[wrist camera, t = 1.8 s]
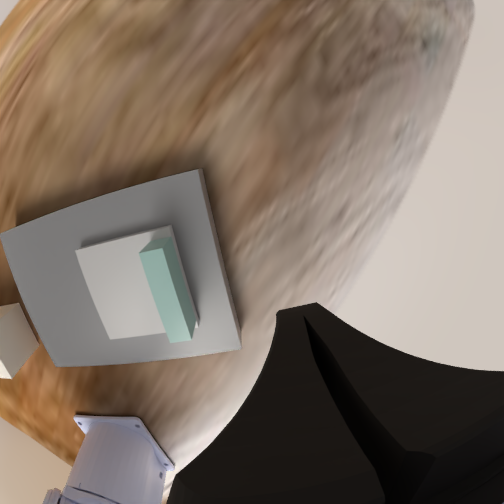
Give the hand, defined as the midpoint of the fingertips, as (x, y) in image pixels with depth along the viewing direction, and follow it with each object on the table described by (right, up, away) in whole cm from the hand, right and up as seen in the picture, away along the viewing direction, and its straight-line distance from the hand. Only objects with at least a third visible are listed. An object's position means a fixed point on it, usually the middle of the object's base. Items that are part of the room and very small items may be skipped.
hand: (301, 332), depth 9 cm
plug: (-23, -4, +10) cm, 25 cm away
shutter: (-8, +1, +7) cm, 11 cm away
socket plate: (-11, +1, +9) cm, 14 cm away
